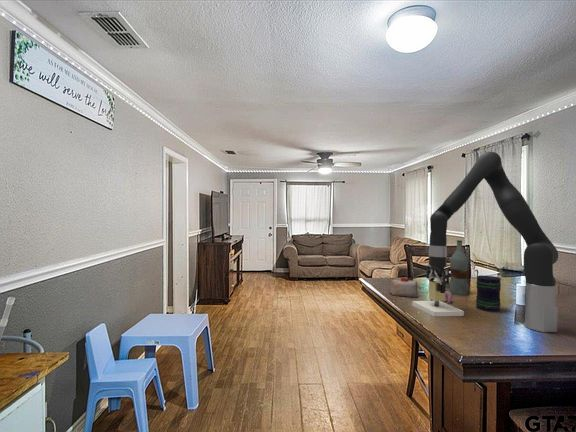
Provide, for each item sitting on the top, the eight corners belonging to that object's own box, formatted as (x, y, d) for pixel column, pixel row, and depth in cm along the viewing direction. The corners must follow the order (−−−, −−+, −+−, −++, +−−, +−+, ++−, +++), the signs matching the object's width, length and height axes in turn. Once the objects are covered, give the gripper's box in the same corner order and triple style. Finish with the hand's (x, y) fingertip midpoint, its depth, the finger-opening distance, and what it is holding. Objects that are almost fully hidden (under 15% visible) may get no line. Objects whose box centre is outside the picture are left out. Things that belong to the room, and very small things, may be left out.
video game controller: (452, 305, 166) (454, 292, 169) (449, 303, 163) (451, 289, 166) (431, 302, 173) (434, 289, 175) (429, 299, 170) (431, 286, 172)
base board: (463, 315, 144) (463, 311, 144) (433, 316, 142) (433, 311, 142) (439, 304, 162) (439, 300, 162) (412, 305, 160) (412, 301, 160)
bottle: (450, 294, 184) (451, 240, 184) (447, 291, 193) (448, 239, 193) (469, 296, 181) (470, 241, 181) (465, 292, 190) (466, 240, 190)
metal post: (440, 306, 151) (440, 291, 151) (436, 306, 151) (436, 291, 151) (437, 305, 153) (437, 290, 153) (433, 305, 153) (433, 290, 153)
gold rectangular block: (445, 300, 150) (445, 283, 150) (434, 300, 149) (435, 283, 149) (438, 298, 155) (438, 280, 155) (428, 298, 154) (429, 280, 154)
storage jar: (504, 312, 150) (504, 279, 150) (480, 311, 152) (480, 278, 152) (495, 307, 159) (495, 276, 159) (472, 305, 161) (473, 274, 161)
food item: (390, 296, 178) (391, 277, 178) (391, 293, 186) (391, 275, 186) (417, 298, 174) (418, 279, 174) (417, 295, 181) (417, 277, 181)
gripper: (455, 257, 145) (454, 294, 145) (436, 253, 160) (435, 287, 160) (439, 257, 144) (438, 294, 144) (421, 253, 158) (420, 287, 158)
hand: (436, 290), depth 152 cm, fingers open, 8 cm apart
